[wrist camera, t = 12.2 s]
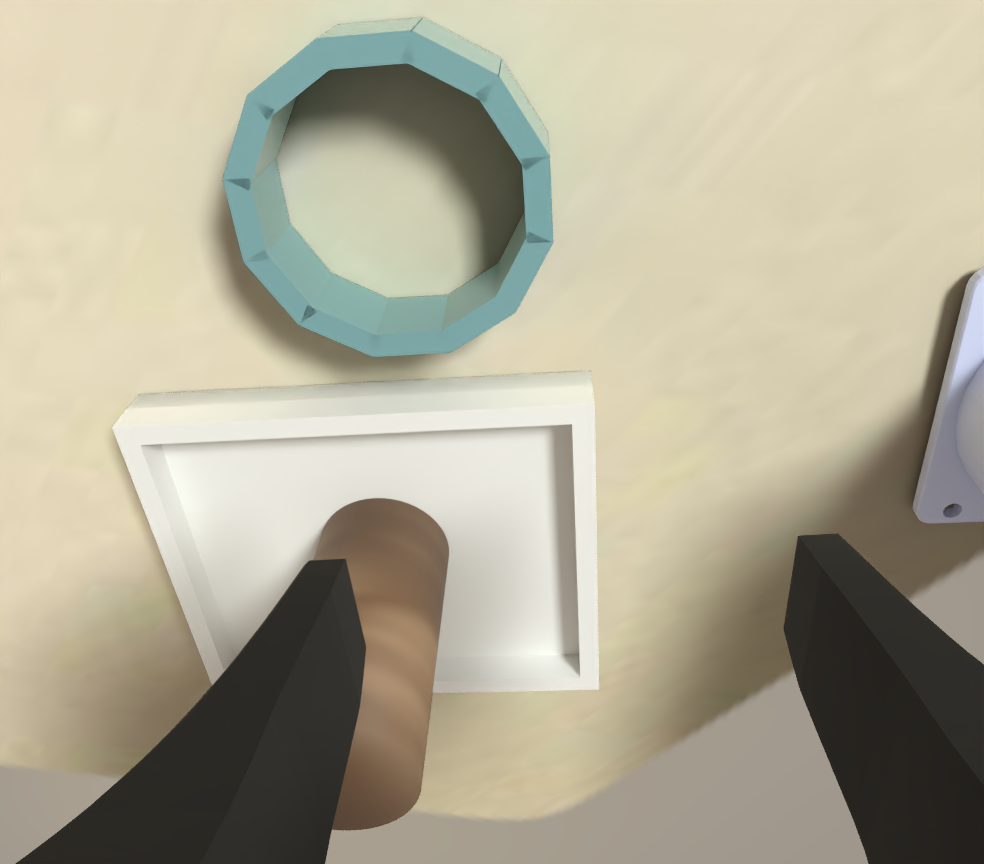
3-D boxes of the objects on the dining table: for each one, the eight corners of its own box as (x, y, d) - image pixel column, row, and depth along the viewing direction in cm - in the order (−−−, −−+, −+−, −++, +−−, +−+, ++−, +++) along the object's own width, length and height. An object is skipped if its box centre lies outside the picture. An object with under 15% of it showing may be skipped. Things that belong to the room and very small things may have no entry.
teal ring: (542, 6, 18) (543, 18, 16) (555, 309, 22) (557, 346, 20) (222, 34, 19) (189, 49, 17) (290, 324, 22) (268, 362, 21)
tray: (590, 370, 23) (594, 403, 21) (595, 648, 29) (599, 689, 27) (138, 394, 24) (111, 427, 22) (232, 658, 30) (217, 698, 28)
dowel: (441, 494, 24) (408, 720, 18) (455, 594, 27) (431, 829, 20) (309, 501, 25) (227, 724, 18) (333, 598, 27) (269, 831, 20)
